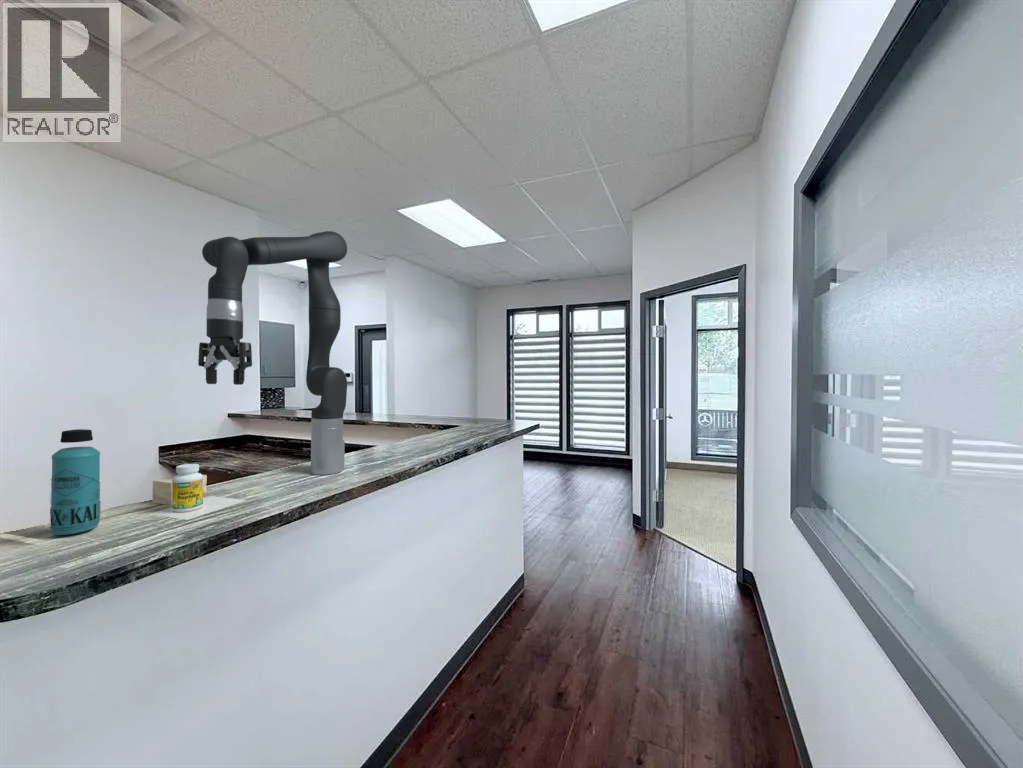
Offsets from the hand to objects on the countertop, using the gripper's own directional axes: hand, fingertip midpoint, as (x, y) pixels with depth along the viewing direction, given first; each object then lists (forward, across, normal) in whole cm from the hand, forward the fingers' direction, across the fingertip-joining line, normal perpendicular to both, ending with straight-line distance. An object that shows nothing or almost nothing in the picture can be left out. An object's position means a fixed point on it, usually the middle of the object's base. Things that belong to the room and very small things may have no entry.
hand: (224, 384), depth 103 cm
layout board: (+28, -5, +10) cm, 30 cm away
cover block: (+28, +5, +7) cm, 30 cm away
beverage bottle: (+28, +2, +28) cm, 40 cm away
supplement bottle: (+28, -4, +12) cm, 30 cm away
